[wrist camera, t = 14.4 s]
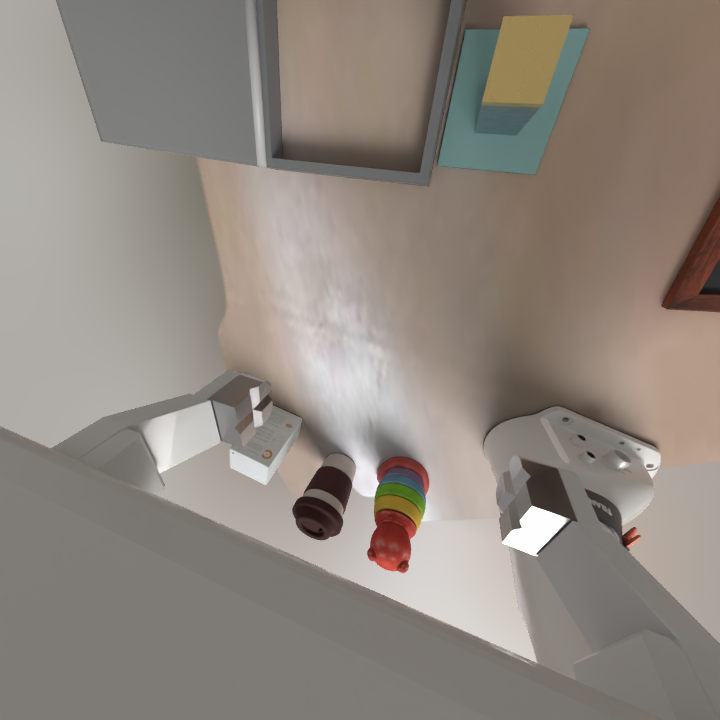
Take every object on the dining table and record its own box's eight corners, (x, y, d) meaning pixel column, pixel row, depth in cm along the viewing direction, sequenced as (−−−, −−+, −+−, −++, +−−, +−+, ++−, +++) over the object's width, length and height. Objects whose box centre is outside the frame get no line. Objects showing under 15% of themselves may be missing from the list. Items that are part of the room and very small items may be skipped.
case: (474, -40, 22) (500, -408, 9) (428, 186, 31) (406, 172, 17) (207, -23, 28) (-27, -236, 14) (230, 164, 36) (96, 140, 23)
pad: (588, 31, 22) (590, 28, 22) (534, 174, 28) (535, 174, 27) (465, 31, 24) (465, 29, 24) (437, 165, 30) (437, 165, 29)
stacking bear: (376, 478, 60) (350, 567, 45) (384, 448, 54) (357, 538, 40) (424, 495, 58) (412, 595, 43) (437, 466, 52) (429, 569, 38)
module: (534, 79, 24) (573, 14, 16) (516, 135, 26) (543, 104, 18) (488, 78, 25) (503, 16, 17) (474, 133, 27) (481, 101, 19)
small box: (268, 422, 62) (228, 467, 51) (270, 403, 58) (228, 447, 47) (299, 436, 61) (265, 486, 50) (303, 418, 57) (268, 467, 47)
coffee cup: (313, 452, 62) (277, 513, 50) (346, 443, 57) (315, 509, 45) (337, 481, 65) (308, 546, 52) (370, 475, 60) (347, 545, 47)
